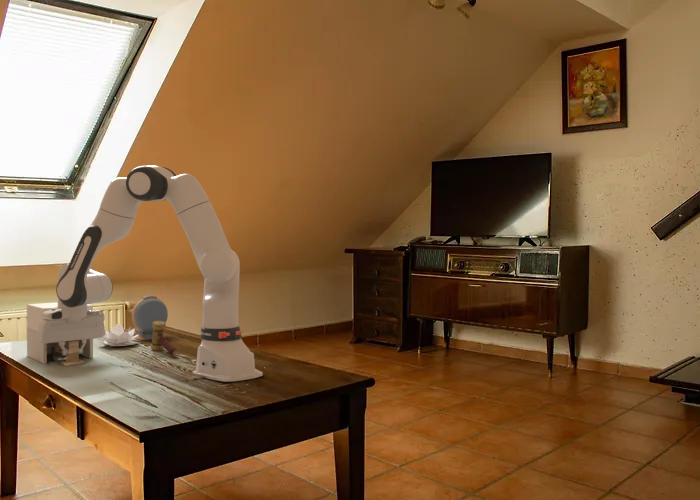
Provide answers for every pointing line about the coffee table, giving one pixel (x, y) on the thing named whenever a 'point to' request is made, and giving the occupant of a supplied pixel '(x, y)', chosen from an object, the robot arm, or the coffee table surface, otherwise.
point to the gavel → (161, 339)
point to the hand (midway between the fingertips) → (72, 354)
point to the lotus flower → (119, 336)
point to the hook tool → (73, 353)
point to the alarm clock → (148, 315)
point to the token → (60, 357)
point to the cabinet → (34, 318)
